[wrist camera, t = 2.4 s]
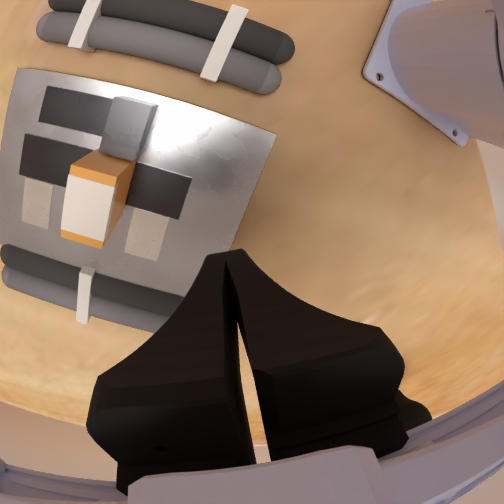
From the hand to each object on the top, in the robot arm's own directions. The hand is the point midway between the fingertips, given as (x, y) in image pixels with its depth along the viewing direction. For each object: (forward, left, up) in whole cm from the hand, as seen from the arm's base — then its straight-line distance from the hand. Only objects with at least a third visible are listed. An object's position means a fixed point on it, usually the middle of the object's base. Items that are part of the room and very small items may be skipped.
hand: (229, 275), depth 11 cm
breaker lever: (+6, 0, -6) cm, 8 cm away
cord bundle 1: (+6, -8, -8) cm, 13 cm away
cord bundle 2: (+6, +8, -8) cm, 13 cm away
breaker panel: (+6, +1, -8) cm, 10 cm away
